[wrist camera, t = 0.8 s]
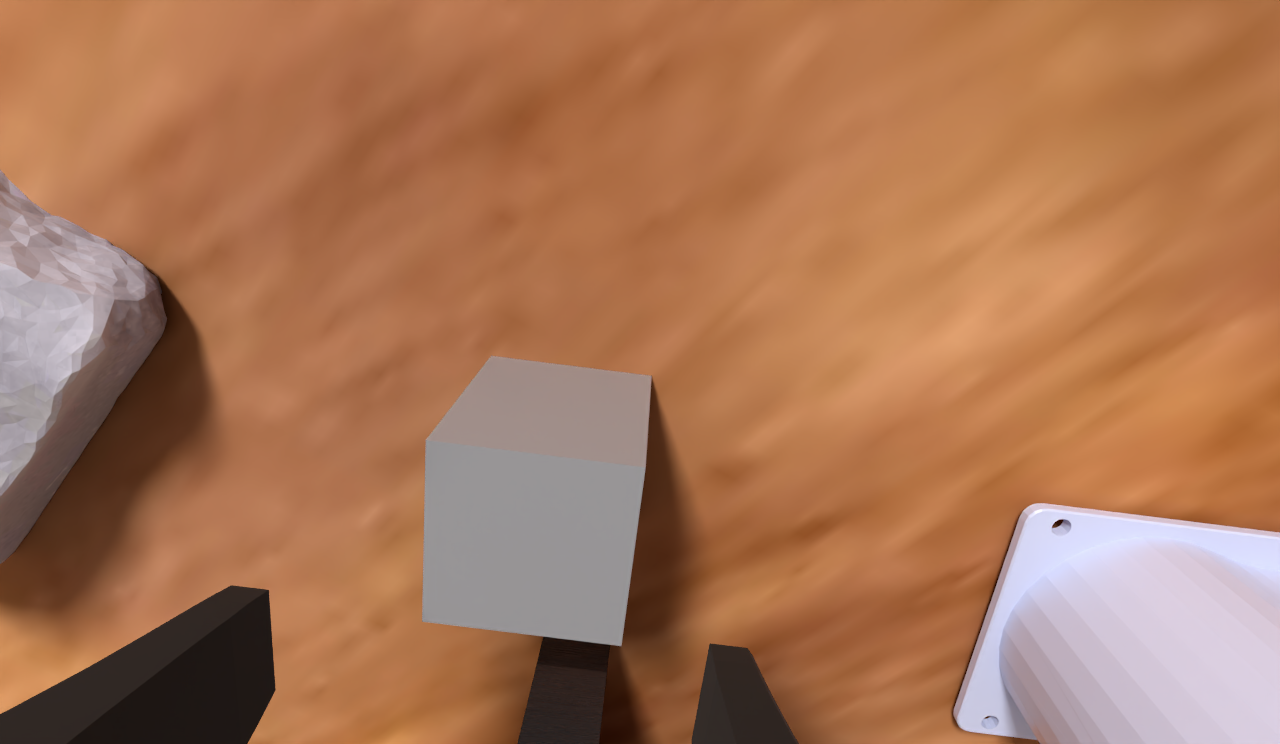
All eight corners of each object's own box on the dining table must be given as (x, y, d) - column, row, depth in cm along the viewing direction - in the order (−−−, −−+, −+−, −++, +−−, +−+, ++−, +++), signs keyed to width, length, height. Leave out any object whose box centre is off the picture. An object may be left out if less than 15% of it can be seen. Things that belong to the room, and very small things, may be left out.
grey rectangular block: (651, 375, 19) (646, 467, 14) (633, 515, 21) (621, 646, 15) (491, 355, 19) (426, 439, 14) (484, 497, 21) (422, 621, 15)
